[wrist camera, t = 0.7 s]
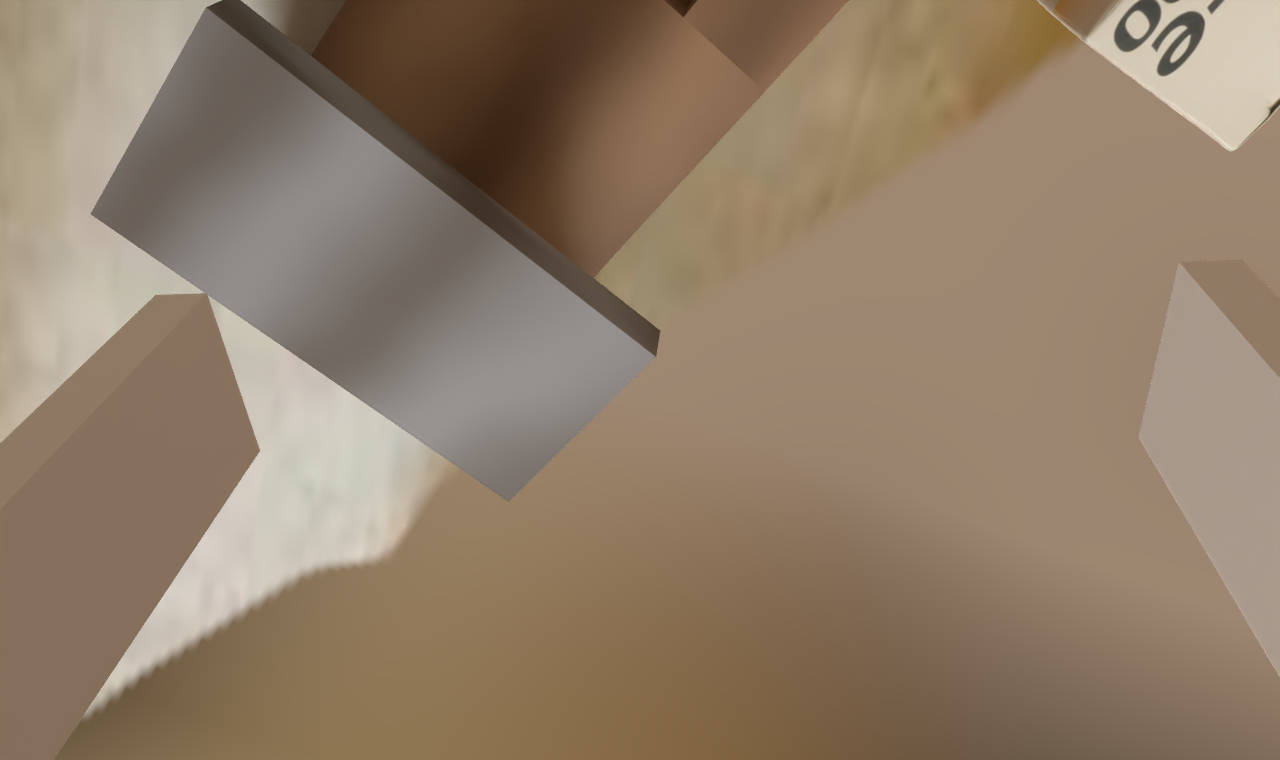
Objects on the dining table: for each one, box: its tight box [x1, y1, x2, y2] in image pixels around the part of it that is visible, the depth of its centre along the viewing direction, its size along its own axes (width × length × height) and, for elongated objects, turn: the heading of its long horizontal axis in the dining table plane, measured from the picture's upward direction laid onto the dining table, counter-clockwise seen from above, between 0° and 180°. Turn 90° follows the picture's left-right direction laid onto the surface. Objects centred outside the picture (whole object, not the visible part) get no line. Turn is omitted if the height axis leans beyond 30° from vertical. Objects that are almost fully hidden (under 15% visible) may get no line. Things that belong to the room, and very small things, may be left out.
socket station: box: [91, 0, 849, 502], centre depth 29 cm, size 14×20×12 cm
